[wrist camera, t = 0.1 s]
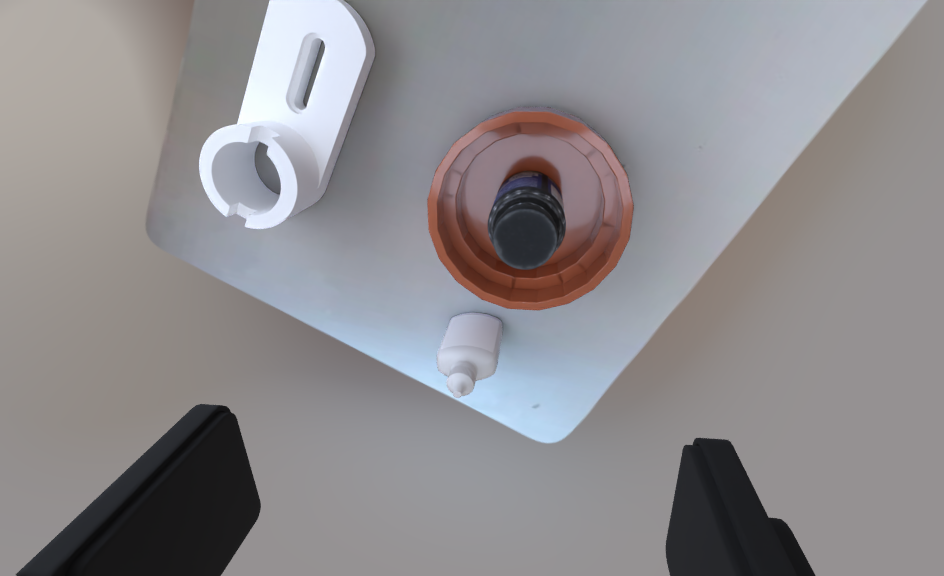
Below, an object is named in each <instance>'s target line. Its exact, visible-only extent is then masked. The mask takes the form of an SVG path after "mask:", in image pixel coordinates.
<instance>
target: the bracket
mask: <svg viewBox="0 0 944 576" xmlns="http://www.w3.org/2000/svg"><path fill="white" fill-rule="evenodd" d="M322 41H323V42H324V43H325V51H324V54H323V57H322V60H321V63H320V66H319V70H318V73H317V76H316V79H315V82H314V85H313V88H312V91H311V94H310V98H309V101H308V104H307V107H306V106H305V105H304V103H303V99H304V96H305V92H306V89H307V86H308V83H309V80H310V77H311V74H312V70H313V67H314V64H315V61H316V58H317V55H318V51H319V48H320V45H321V42H322ZM374 58H375V47H374V43H373V40H372V37H371V34H370V32H369V30H368V28H367V26H366V24H365V22H364V21H363V19H362V18H361V17H360V15H359V14H358V13H357V12H356V10H355V9H354V8H352V7H351V6H350V5H349V4H348V3H347V2H345V1H344V0H270V1H269V5H268V9H267V13H266V17H265V20H264V24H263V28H262V32H261V36H260V39H259V43H258V47H257V51H256V55H255V58H254V62H253V66H252V70H251V74H250V78H249V81H248V85H247V89H246V93H245V97H244V100H243V104H242V108H241V112H240V116H239V119H238V123H237V125H231V126H226V127H223V128H221V129H219V130H217V131H215V132H214V133H213V134H212V135H211V136H210V137H209V138H208V139H207V141H206V142H205V144H204V146H203V148H202V151H201V155H200V161H199V170H200V177H201V181H202V184H203V187H204V189H205V191H206V193H207V195H208V197H209V199H210V200H211V202H212V203H213V204H214V206H215V207H216V208H217V209H218V210H219V211H220V212H221V213H222V214H223V215H224V216H226V217H228V216H231V215H233V214H235V213H237V214H238V215H240V216H242V217H243V218H245V219H247V221H246V224H245V227H248V228H253V229H266V228H270V227H273V226H276V225H278V224H280V223H281V222H283V221H285V220H287V219H288V218H290V217H292V216H294V215H296V214H297V213H299V212H301V211H303V210H304V209H306V208H308V207H310V206H312V205H313V204H315V203H316V202H317V201H318V200H319V199H320V198H321V197H322V196H323V194H324V193H325V191H326V188H327V186H328V183H329V180H330V177H331V175H332V172H333V169H334V167H335V164H336V161H337V158H338V156H339V153H340V150H341V148H342V145H343V142H344V139H345V137H346V134H347V131H348V129H349V126H350V123H351V120H352V118H353V115H354V112H355V110H356V107H357V104H358V101H359V99H360V96H361V93H362V91H363V88H364V85H365V82H366V80H367V77H368V74H369V72H370V69H371V66H372V63H373V61H374ZM260 142H262V143H264V144H266V145H268V146H269V147H268V150H267V155H268V157H269V158H270V159H271V160H272V162H273V163H274V165H275V166H276V168H277V171H278V173H279V176H280V181H281V193H280V195H278V194H276V193H274V192H272V191H271V190H270V189H269V188H267V187H266V186H265V184H264V183H263V182H262V181H261V179H260V177H259V175H258V173H257V170H256V167H255V151H256V148H257V146H258V144H259V143H260Z"/></svg>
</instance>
